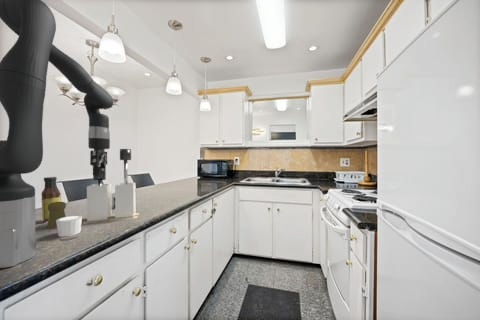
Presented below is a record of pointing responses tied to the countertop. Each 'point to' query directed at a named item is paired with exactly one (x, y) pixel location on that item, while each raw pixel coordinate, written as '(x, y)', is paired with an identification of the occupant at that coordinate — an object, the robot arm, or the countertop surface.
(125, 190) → the jar right
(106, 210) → the jar left
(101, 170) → the plunger left
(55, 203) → the cork
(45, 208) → the sauce bottle
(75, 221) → the white ramekin
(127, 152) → the plunger right
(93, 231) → the countertop surface
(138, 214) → the stand
